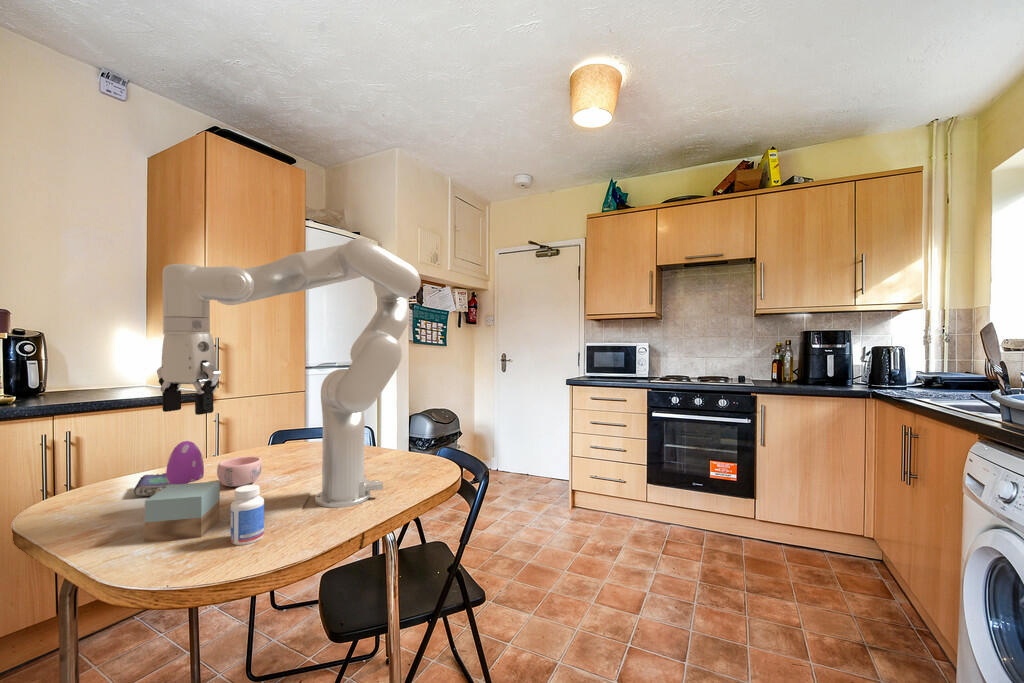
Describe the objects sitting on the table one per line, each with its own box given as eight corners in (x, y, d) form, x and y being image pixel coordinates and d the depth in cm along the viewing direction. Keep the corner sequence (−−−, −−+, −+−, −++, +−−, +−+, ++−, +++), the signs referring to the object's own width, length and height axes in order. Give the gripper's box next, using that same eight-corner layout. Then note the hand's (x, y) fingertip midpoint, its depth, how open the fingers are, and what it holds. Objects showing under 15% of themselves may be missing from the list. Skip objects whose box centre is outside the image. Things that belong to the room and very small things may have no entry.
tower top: (219, 500, 90) (219, 481, 90) (201, 517, 82) (201, 496, 82) (169, 504, 88) (169, 484, 88) (144, 522, 79) (144, 500, 79)
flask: (186, 470, 113) (182, 484, 104) (185, 481, 113) (181, 496, 104) (140, 474, 108) (131, 489, 99) (139, 486, 108) (130, 502, 99)
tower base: (219, 519, 90) (219, 500, 90) (201, 538, 82) (201, 517, 82) (168, 524, 88) (169, 504, 88) (144, 544, 79) (144, 522, 79)
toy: (183, 515, 92) (183, 445, 92) (157, 513, 93) (158, 443, 93) (211, 504, 98) (211, 438, 98) (186, 501, 100) (187, 437, 100)
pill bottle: (270, 534, 84) (271, 484, 84) (249, 547, 78) (249, 493, 78) (245, 531, 85) (246, 482, 85) (223, 544, 79) (223, 491, 79)
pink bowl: (251, 489, 109) (251, 466, 109) (208, 490, 107) (208, 467, 107) (271, 474, 120) (271, 453, 120) (233, 475, 119) (233, 454, 119)
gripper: (235, 327, 87) (236, 411, 87) (178, 327, 93) (179, 407, 93) (196, 326, 80) (197, 418, 80) (138, 327, 86) (139, 412, 86)
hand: (187, 412), depth 86 cm, fingers open, 9 cm apart
